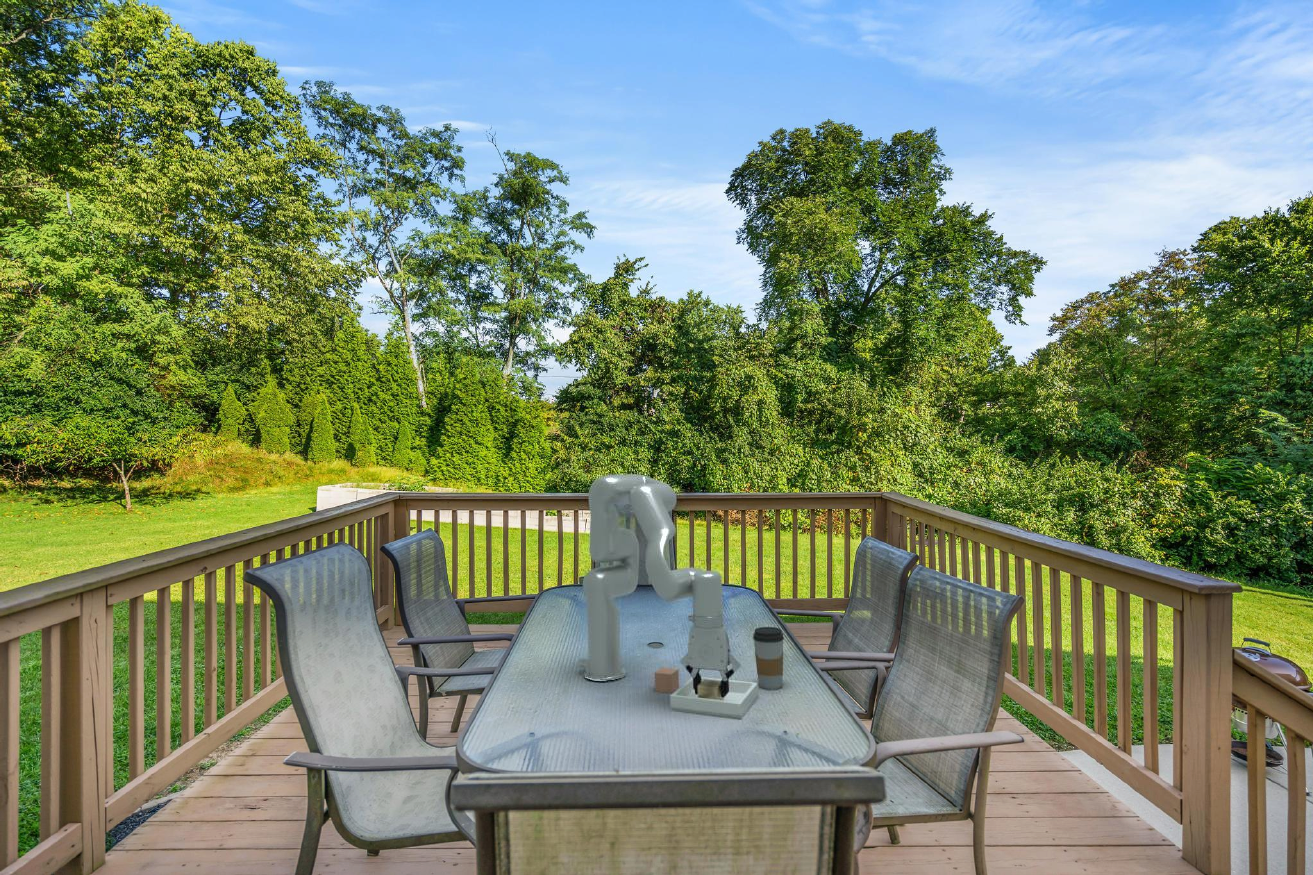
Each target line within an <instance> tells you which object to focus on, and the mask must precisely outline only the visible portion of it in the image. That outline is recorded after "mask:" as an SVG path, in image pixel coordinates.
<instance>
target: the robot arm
mask: <svg viewBox="0 0 1313 875" xmlns="http://www.w3.org/2000/svg"><path fill="white" fill-rule="evenodd" d="M617 504H618V505H619V504H630V507H631V509H632V511H633V513H634V516H635V519H637V522H638V524H639V526H640V528H641V531H642V532H643V535H644V537H645V539H646V543H647V545H646V549H645V556H644V557H645V559H644V562H645V571H646V573H647V576H648V579H649V580H650V582H651V585H652V587H653V589H654V592H656V594H657V595H658V597H659V598H661V599H662V600H663V601H665V602H675V601H678V600H682V599H683V600H684V599H688V598H692V614H691V615H688V616H687V617H688V618H687V620H688V621H689V622H691V623H692V625H690V628H689V635H688V644H687V647H688V649H687V653H686V654H685V655H684V656H683V657H682V658H681V659H680V664H682V665H683V667H684V668H685V670H686V671H687V672H688V673H689V674H690V677H691V678H693V689H694V690H695V694H698V685H699V684H700V683H701V677H702V675H701V674H700V671H701V670H709V671H718V672H719V674H720V677H721V679H722V680H721V682H720V684H721V697H723V698H724V697H725V696H726V695H727V693H729V680H730V677H732V676H733V675H734V674H735V673H736V672H737V671H738V670H739V669H740V668H741V666H742V665H741V663H740V662H739V660H737V659H736V657H734V656H733V655H732V654H731V645H730V639H729V638H730V637H729V635H728V630H727V626H725V625H724V608H723V607H724V606H723V603H724V601H723V583H722V582H723V579H722V575H721V574H720V572H718V571H715V570H703V569H701V568H696V567H691V566H689V567H682V568H678V569H673V570H671V569H670V567H669V565H668V563H667V561H666V558H665V545H666V543H668V541H670V540H672V538H673V537H675V535H676V532H677V528H676V526H675V524H674V522H673V520H672V517H671V516H670V514H669V512H671V511H672V510H674V509H675V507H676V505H677V494H676V493H675V490H674V489H673V488H672V486H670V485H669V484H668V483H666V482H664V481H661V480H657V479H654V478H652V477H650V476H647V475H643V474H636V473H635V474H633V473H632V474H607V475H603V476H600V477H598V478H596V479H595V480H593V482H592V484H591V485H590V487H589V491H588V506H589V513H590V521H589V522H590V523H589V556H590V559H591V560H592V561H593V562H595V563H599V564H606V563H613V562H614V564H613V565H606V566H600V567H595V568H592V569H590V570H588V571H587V573H585V575H584V577H583V580H582V588H583V594H584V596H585V597H584V598H585V604H586V618H587V620H586V621H587V640H588V641H587V645H588V646H587V648H588V650H587V652H588V658H587V659H586V658H584V657H583V658H581V657H580V658H579V659H578V662H577V667H578V668H584V669H585V670H584V671H583V676H584V675H585V676H586V677H588V678H592V679H600V680H612V679H618V680H620V679H619V678H621V679H623V678H624V676H625V677H626V676H627V669H626V668H625V667H624V666H622V654H621V653H622V651H621V625H620V624H621V623H620V622H621V621H620V612H619V608H618V607H617V604H616V603H615V601H614V598H618V597H623V596H627V595H629V594H632V593H634V591H635V590H636V588H637V586H638V582H639V565H640V563H639V562H640V544H639V540H638V538H637V535H636V533H634V531H632V529H629V528H620V527H619V525H620V523H619V522H620V516H619V512H618V510H617V508H616V506H615V505H617ZM730 665H732V667H731V668H730V669H728V666H730Z"/></svg>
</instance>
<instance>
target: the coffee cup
mask: <svg viewBox="0 0 1313 875" xmlns="http://www.w3.org/2000/svg"><path fill="white" fill-rule="evenodd" d="M752 639H753V642H754V654H755V663H756V674H757V680H758V682H757V683H758V686H759V687H760V688H761V689H764V690H767V691H768V690H769V691H770V690H771V691H774V690H778V689H780V688H782V685H783V675H784V633H783V632H782V629H781V628H779V627H774V626H760V627H757V628H755V629H754V633H753V634H752Z"/></svg>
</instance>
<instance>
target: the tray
mask: <svg viewBox="0 0 1313 875" xmlns="http://www.w3.org/2000/svg"><path fill="white" fill-rule="evenodd" d="M704 680H713V681H721V680H722V678H714V677H707V676H706V677H705V676H701V682H702V681H704ZM758 698H759V682H753V681H743V680H742V681H741V680H733V679H729V693H727V695H726V696H725V697H724V701H723V700H714V699H706V698H698V694H695V690H694V689H693V678H692V677H691V678H689V679H688V680H687V681H686V682H685V683H683V685H681V686H679V688H677V689H676V690H675V691H674V692H673V693H671V694H670V699H669V700H670V711H675V712H682V713H687V714H688V713H690V714H696V715H697V714H698V715H704V716H705V715H706V716H713V717H721V718H729V719H734V720H736V719H737V720H742V719H743V717H745V715H746V713H747V712H748V711H749V710H750V708H751V707H752V706H753V705H754V703H755V702H756V701H757V699H758Z"/></svg>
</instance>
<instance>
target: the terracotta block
mask: <svg viewBox="0 0 1313 875" xmlns="http://www.w3.org/2000/svg"><path fill="white" fill-rule="evenodd" d="M679 675H680V674H679V668H674V667H672V668H671V667H660V668H659V669H657V670H656V671H655V672H654V691H655V692H659V693H665V694H666V693H667V694H673V693H674V692H675V691H677V690H678V689H679V688H680V678H679V677H680V676H679Z"/></svg>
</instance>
